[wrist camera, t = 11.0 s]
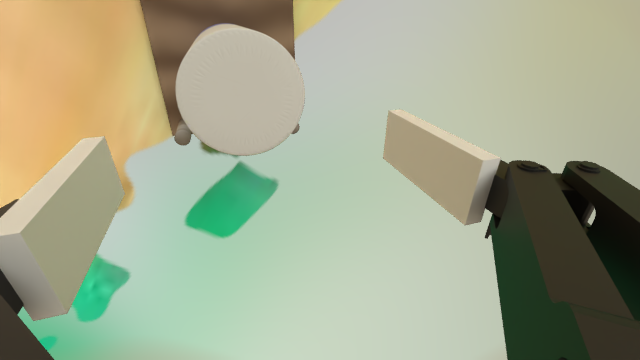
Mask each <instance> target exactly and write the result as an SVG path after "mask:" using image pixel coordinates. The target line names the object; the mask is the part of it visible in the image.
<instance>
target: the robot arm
mask: <svg viewBox="0 0 640 360" xmlns="http://www.w3.org/2000/svg"><path fill="white" fill-rule="evenodd" d="M383 158H384V159H385V160H386V161H387V162H388V163H390V164H391V165H392V166H393V167H395V168H396V169H397V170H398V171H399V172H401V173H402V174H403V175H404V176H405V177H407V178H408V179H409V180H410V181H412V182H413V183H414V184H415V185H417V186H418V187H419V188H420V189H421V190H423V191H424V192H425V193H426V194H427V195H429V196H430V197H431V198H432V199H434V200H435V201H436V202H437V203H438V204H440V205H441V206H442V207H443V208H444V209H446V210H447V211H448V212H449V213H450V214H452V215H453V216H454V217H456V218H457V219H458V220H459V221H460V222H462V223H463V224H464V225H469V224H473V223H478V222H481V220H482V216H483V213H484V210H485V208H486V209H487V210H489V211H490V212H492V213H493V214H492V217H491V220H490V223H489V226H488V229H487V232H486V235H485V238H488V237H489V235H491V236H492V243H493V250H494V259H495V266H496V274H497V282H498V289H499V297H500V305H501V313H502V320H503V328H504V335H505V343H506V351H507V359H508V360H640V190H638V189H637V188H635V187H634V186H632V185H631V184H629V183H628V182H626V181H625V180H623V179H622V178H620V177H619V176H617V175H615V174H614V173H612V172H611V171H609V170H608V169H606V168H604V167H602V166H599V165H597V164H596V163H592V162H588V161H582V162H581V161H570V162H567V163H566V166H565V168H564V171H563V173H562V174H557V173H551V171H550V170H549V169H548V168H546V167H545V166H542V165H540V164H538V163H535V162H532V161H521V160H519V161H518V160H517V161H512V162H509V164H508V163H506V162H504V161H502V160H500V159H501V158H500V157H498V156H496V155H494V154H491V153H490V152H487V151H485V150H483V149H481V148H479V147H477V146H475V145H473V144H471V143H469V142H467V141H465V140H463V139H461V138H459V137H457V136H455V135H453V134H451V133H448V132H446V131H444V130H442V129H440V128H438V127H436V126H434V125H432V124H430V123H428V122H426V121H424V120H422V119H420V118H418V117H416V116H414V115H412V114H409V113H407V112H405V111H403V110H389V111H388V119H387V128H386V137H385V146H384V155H383ZM124 195H125V193H124V190H123V187H122V184H121V181H120V179H119V176H118V173H117V170H116V167H115V165H114V162H113V159H112V156H111V153H110V150H109V148H108V145H107V142H106V139H105V136H103V137H92V138H83V139H82V140H81V141H80V142H79V143H78V144H77V145H76V146H74V147H73V148H72V149H71V150H70V151H69V152H68V153H67V154H66V155H65V156H64V157H63V158H62V159H61V160H60V161H59V162H58V163H57V164H56V165H55V166H54V167H53V168H52V169H51V170H49V171H48V172H47V173H46V174H45V175H44V176H43V177H42V178H41V179H40V180H39V181H38V182H37V183H36V184H35V185H34V186H33V187H32V188H31V189H30V190H29V191H28V192H27V193H26V194H24V195H23V196H22V197H21V198H20V199H17V200H14V201H13V202H11V203H9V204H7V205H5V206H4V207H2V208H0V360H54V359H53V358H52V356H50V354H49V353H48V352H47V350H46V349H45V348H44V347H43V346H42V344H41V343H40V342H39V341H38V340H37V338H36V337H35V336H34V335H33V333H32V332H31V331H30V330H29V329H28V328H27V326H26V325H25V324H24V323H23V321H22V320H21V319H20V318H19V317H18V315H17V314H18V313H19V311H20V310H21V308H22V307H24V308H25V310H26V311H27V312H28V314H29V315H30V317H31V318H32V320H33V321H36V320H41V319H45V318H50V317H54V316H59V315H63V314H67V313H68V311H69V309H70V307H71V305H72V303H73V301H74V299H75V297H76V294H77V292H78V290H79V288H80V286H81V284H82V282H83V280H84V278H85V276H86V274H87V272H88V269H89V267H90V265H91V263H92V261H93V259H94V257H95V255H96V253H97V251H98V249H99V247H100V244H101V242H102V240H103V238H104V236H105V234H106V232H107V230H108V228H109V225H110V223H111V222H112V219H113V217H114V215H115V213H116V211H117V209H118V207H119V205H120V203H121V201H122V199H123V197H124ZM594 208H595V210H596V216H595V219H594V221H593V223H592V225H590V224H589V223H588V222H587V221H588V219H589V218H590V216H591V214H592V212H593V210H594Z"/></svg>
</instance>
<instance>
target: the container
mask: <svg viewBox="0 0 640 360" xmlns="http://www.w3.org/2000/svg"><path fill="white" fill-rule="evenodd" d="M304 99H305V91H304V83H303V79H302V75H301V72H300V70H299V68H298V66H297V64H296V62H295V60H294V59H293V57H292V56H291V55H290V53H289V52H288V51H287V50H286V49H285V48H284V47H283V46H282V45H281V44H280V43H278V42H277V41H276V40H274V39H273V38H271V37H269V36H267V35H265V34H263V33H261V32H258V31H255V30H251V29H248V28H245V27H242V26H238V25H235V24H230V23H220V24H215V25H212V26H210V27H208V28H206V29H205V30H203V31H202V32H201V33H200V34H199V35H198V36H197V38H196V39H195V41H194V42H193V44H192V46H191V47H190V49H189V50H188V52H187V54H186V55H185V57H184V58H183V60H182V62H181V64H180V67H179V70H178V73H177V78H176V100H177V104H178V108H179V111H180V113H181V116H182V118H183V120H184V122H185V123H186V125H187V126H188V128H189V129H190V130H191V131H192V133H193V134H194V135H195V136H196V137H197V138H198V139H200V140H201V141H202V142H203V143H205V144H206V145H208V146H209V147H211V148H213V149H215V150H218V151H220V152H223V153H226V154H231V155H238V156H249V155H256V154H260V153H263V152H266V151H269V150H271V149H273V148H274V147H276V146H278V145H279V144H280V143H282V142H283V141H284V140H285V139H287V138H288V137H289V135H290V134H291V133H292V132H293V130H294V129H295V127H296V126H297V124H298V122H299V120H300V118H301V115H302V111H303V107H304Z"/></svg>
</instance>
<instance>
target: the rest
mask: <svg viewBox="0 0 640 360" xmlns="http://www.w3.org/2000/svg"><path fill="white" fill-rule="evenodd" d="M140 2H141V6H142V10H143V14H144V19H145V23H146V27H147V31H148V35H149V39H150V43H151V47H152V52H153V56H154V60H155V64H156V68H157V72H158V76H159V81H160V85H161V89H162V93H163V97H164V101H165V105H166V109H167V114H168V118H169V122H170V126H171V130H172V134H173V136H175V141H176V143H178V144H179V145H187V144H188V143H189V142H190V139H191V134H193V133H192V131H191V130H190V129H189V128H188V126H187V125H186V123H185V122H184V120H183V118H182V116H181V113H180V111H179V108H178V104H177V100H176V78H177V73H178V70H179V67H180V64H181V62H182V60H183V58H184V57H185V55H186V54H187V52H188V50H189V49H190V47H191V46H192V44H193V42H194V41H195V39H196V38H197V36H198V35H199V34H200V33H201V32H202V31H203V30H205V29H206V28H208V27H210V26H212V25H215V24H220V23H230V24H235V25H238V26H242V27H245V28H248V29H251V30H255V31H258V32H261V33H263V34H265V35H267V36H269V37H271V38H273V39H274V40H276V41H277V42H278V43H280V44H281V45H282V46H283V47H284V48H285V49H286V50H287V51H288V52H289V53H290V55H291V56H292V57H293V59H294V60H295V51H294V23H293V0H140ZM298 130H299V124H297V126H296V127H295V129H294V130H293V132H292V133H291V134H295V133H297V132H298Z"/></svg>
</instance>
